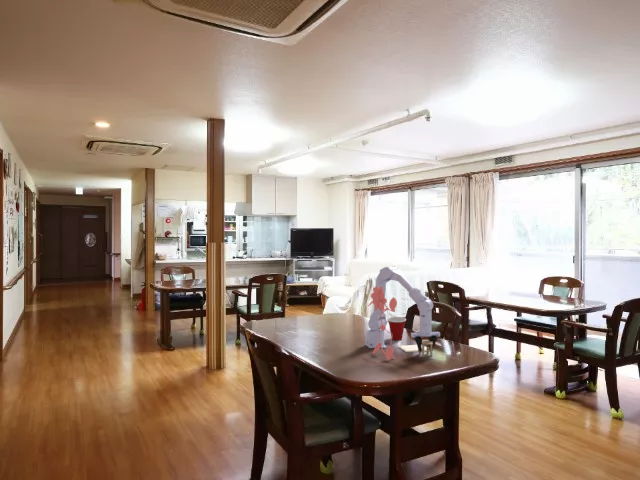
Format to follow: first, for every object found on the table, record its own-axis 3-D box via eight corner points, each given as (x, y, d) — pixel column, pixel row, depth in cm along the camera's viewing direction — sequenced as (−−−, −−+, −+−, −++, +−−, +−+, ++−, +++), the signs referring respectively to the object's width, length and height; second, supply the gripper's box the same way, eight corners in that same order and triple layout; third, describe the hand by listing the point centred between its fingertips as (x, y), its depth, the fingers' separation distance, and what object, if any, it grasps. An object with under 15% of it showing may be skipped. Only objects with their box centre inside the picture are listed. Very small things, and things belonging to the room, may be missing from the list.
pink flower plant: (377, 350, 226) (376, 282, 226) (406, 363, 203) (405, 287, 202) (351, 353, 220) (349, 284, 220) (378, 367, 197) (376, 290, 196)
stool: (422, 356, 214) (422, 342, 214) (418, 354, 219) (418, 340, 219) (432, 356, 215) (432, 342, 215) (428, 353, 220) (428, 339, 220)
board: (406, 352, 222) (406, 350, 222) (398, 347, 233) (398, 345, 233) (430, 351, 224) (430, 349, 224) (421, 346, 235) (421, 344, 235)
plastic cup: (384, 340, 249) (384, 319, 249) (390, 336, 258) (390, 316, 258) (403, 342, 244) (403, 320, 244) (408, 338, 253) (408, 317, 253)
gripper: (414, 326, 212) (414, 354, 212) (442, 325, 214) (442, 352, 214) (409, 323, 219) (409, 350, 219) (436, 322, 221) (436, 349, 221)
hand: (425, 351), depth 217 cm, fingers open, 5 cm apart
